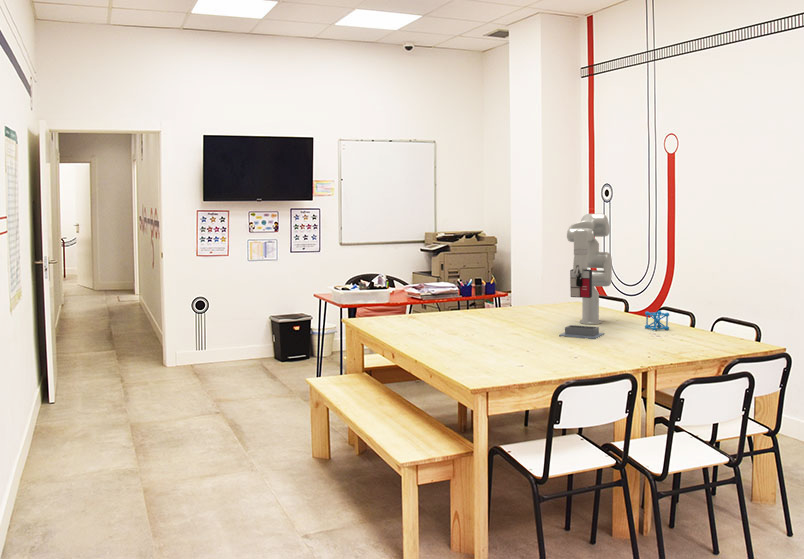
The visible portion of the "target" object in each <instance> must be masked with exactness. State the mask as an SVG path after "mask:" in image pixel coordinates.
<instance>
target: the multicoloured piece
mask: <svg viewBox="0 0 804 559" xmlns="http://www.w3.org/2000/svg"><path fill="white" fill-rule="evenodd" d="M592 270H593V269H588V268H587V269H586V270H584V273H582V287H577V286H576V275H575V273H576V272H575V273H573V269H570V271H569V272H570V273H569V274H570V275H569V276H570V278H569V279H570V280H569V281H570V282H569V284H570V289H569V290H570V297H571V298H591V297H592ZM579 273H580V272H579Z"/></svg>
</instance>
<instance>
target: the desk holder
mask: <svg viewBox="0 0 804 559" xmlns="http://www.w3.org/2000/svg"><path fill="white" fill-rule="evenodd" d="M604 334H605V332H600V326H590V325H589V326H588V325H576V324H575V325H574V324H570V325H567V326H565V327H564V332H563V333H560V334H558V337H561V336H567V337H566V338H573V337H576V339H585V338H588V339H587V340H597V339H599V338H601V337H603V336H604ZM602 335H603V336H602ZM600 336H601V337H600ZM598 337H599V338H598ZM596 338H597V339H596Z"/></svg>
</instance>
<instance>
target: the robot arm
mask: <svg viewBox="0 0 804 559" xmlns="http://www.w3.org/2000/svg"><path fill="white" fill-rule="evenodd" d="M610 227H611V226H610V223H609V220H608V216H607V215H606V214H604V213H586V214H584V215H583V216H582V218H581V219H580V221H579V222H576V223H573V224H571V225H570V226H568V228H567V232H566V239H567V241H568V242H569V243H573V265H572V266H573V267H572V268H573V273H575V272H576V273H575V275H576V286H577V287H582V273H584V270H586V269H587V270H588V268H589V269H591V270H592V297H591V298H582V303H581V304H582V316H581V317H582V319H580V320H579V323H580V324H584V325H600V324H602V320H599V319H600V314H599V313H600V293H599V291H598V290H597V289H596V287H609V286H611V284H612V280H613V279H612V273H613V272H612V270H613V269H612V268H613V258H612V255H611V253H609V252H606V251H605V252H604V251H599V250H600V243H599V241H598V240H597V239H596V238H597V237H601V238H602V237H604V238H605V237H608V236H609V234H610V230H611V228H610ZM595 237H596V238H595ZM594 269H598V270H594ZM600 269H603V270H600ZM579 272H580V273H579Z"/></svg>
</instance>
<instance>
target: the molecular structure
mask: <svg viewBox="0 0 804 559" xmlns="http://www.w3.org/2000/svg"><path fill="white" fill-rule="evenodd" d="M644 315H645V317H646V319H645V320H646V321H645V322H646V323H645V326H644V328H645V329H646V328H648V329H651V330H652V331H653V330H656V331H657V330H665V331H669V329H670V327H669V326H668V322H669V318H668V317H670V313H669V312H665V313H664V312H662V311H661V310H657V311H655V312H649V311H645V313H644ZM649 317H650V318H651V319H653V322H651V323H650V324H648V323H649ZM664 318H666V319H665V325H664V324H663V323H662V322H661V320H662V319H664ZM658 327H659V328H658Z"/></svg>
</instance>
